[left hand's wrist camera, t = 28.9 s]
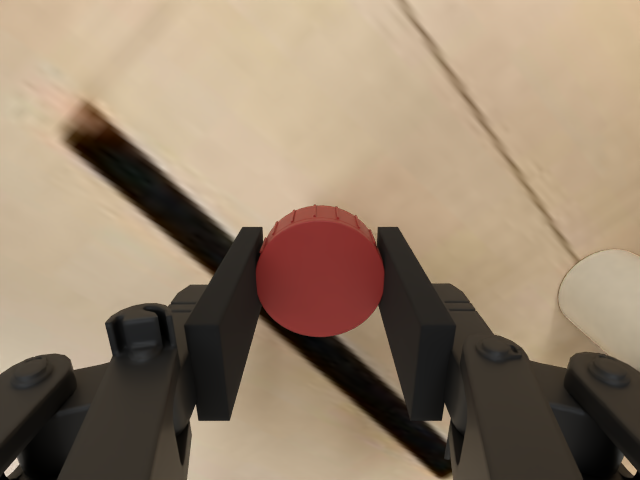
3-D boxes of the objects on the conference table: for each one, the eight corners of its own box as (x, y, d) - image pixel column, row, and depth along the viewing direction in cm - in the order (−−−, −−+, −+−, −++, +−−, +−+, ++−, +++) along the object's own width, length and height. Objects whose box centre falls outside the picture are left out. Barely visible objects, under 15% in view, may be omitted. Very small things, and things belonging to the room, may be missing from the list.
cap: (237, 247, 14) (225, 267, 13) (336, 179, 13) (339, 192, 12) (305, 329, 16) (303, 358, 14) (400, 273, 15) (411, 297, 13)
